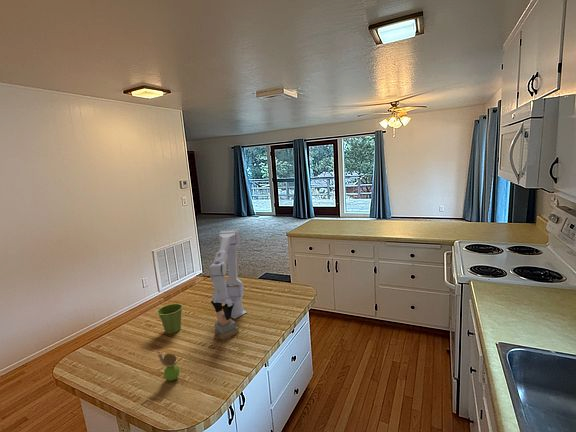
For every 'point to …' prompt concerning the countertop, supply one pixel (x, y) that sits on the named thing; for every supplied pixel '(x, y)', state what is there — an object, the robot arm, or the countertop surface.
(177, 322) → the plant pot
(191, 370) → the countertop surface
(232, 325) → the top slab
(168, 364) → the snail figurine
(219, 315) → the terracotta block
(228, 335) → the base slab
